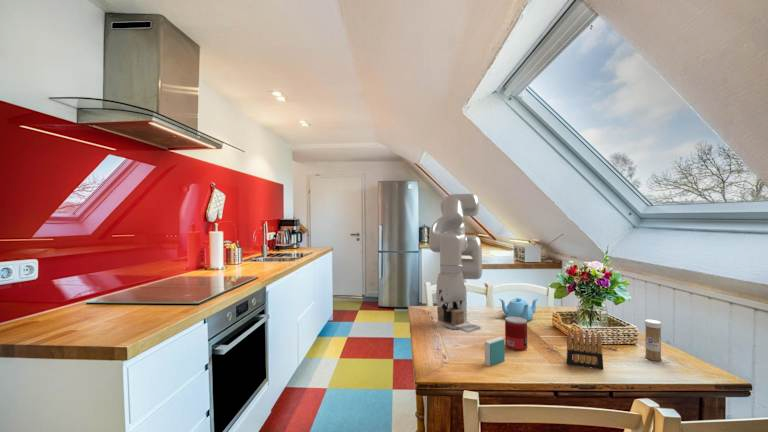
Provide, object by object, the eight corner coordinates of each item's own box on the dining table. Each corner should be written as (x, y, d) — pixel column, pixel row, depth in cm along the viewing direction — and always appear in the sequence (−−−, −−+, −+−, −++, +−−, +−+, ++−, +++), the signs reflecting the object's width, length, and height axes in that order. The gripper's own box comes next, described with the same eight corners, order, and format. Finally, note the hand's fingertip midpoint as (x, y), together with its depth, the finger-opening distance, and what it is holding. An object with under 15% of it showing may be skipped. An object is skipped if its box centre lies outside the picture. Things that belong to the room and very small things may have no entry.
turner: (434, 321, 121) (434, 307, 121) (446, 318, 124) (446, 304, 124) (468, 332, 108) (467, 317, 108) (480, 329, 111) (480, 314, 111)
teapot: (511, 312, 177) (511, 293, 177) (540, 318, 166) (540, 298, 166) (498, 318, 167) (498, 298, 167) (528, 325, 156) (528, 303, 156)
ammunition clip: (602, 367, 112) (601, 331, 113) (603, 369, 111) (603, 333, 111) (566, 362, 116) (566, 328, 116) (567, 364, 115) (566, 329, 115)
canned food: (529, 352, 125) (529, 322, 125) (507, 350, 127) (506, 321, 127) (524, 344, 133) (524, 316, 133) (504, 343, 135) (503, 315, 135)
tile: (484, 364, 115) (484, 341, 115) (499, 358, 120) (499, 336, 120) (490, 366, 113) (490, 343, 114) (505, 361, 118) (504, 338, 118)
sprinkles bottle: (643, 358, 119) (643, 320, 119) (646, 354, 122) (646, 318, 122) (660, 362, 115) (659, 323, 115) (662, 358, 118) (662, 321, 118)
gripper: (459, 265, 126) (459, 314, 126) (426, 270, 117) (426, 322, 117) (474, 268, 119) (475, 319, 119) (441, 273, 110) (441, 328, 110)
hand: (451, 320), depth 118 cm, fingers closed on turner, 3 cm apart
